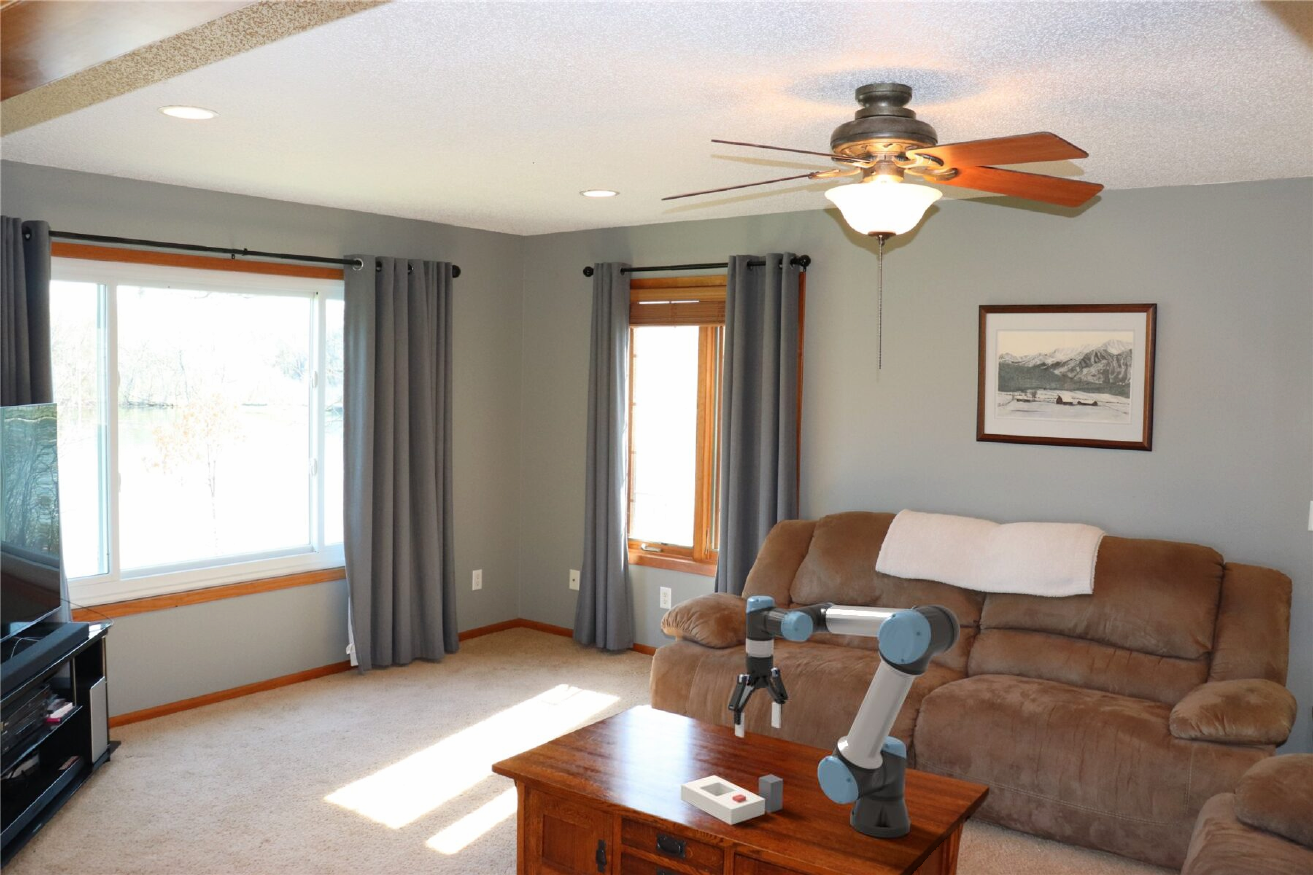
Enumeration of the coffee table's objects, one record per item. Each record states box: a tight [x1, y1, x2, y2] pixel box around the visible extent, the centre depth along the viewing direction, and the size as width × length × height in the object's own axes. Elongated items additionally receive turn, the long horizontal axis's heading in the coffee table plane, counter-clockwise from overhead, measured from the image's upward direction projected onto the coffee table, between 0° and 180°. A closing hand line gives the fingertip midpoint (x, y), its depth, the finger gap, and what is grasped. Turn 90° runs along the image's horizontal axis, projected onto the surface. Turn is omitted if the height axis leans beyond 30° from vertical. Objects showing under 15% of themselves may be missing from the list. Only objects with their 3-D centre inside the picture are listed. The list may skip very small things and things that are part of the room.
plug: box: [757, 773, 784, 814], centre depth 278 cm, size 4×4×8 cm
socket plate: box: [680, 774, 766, 826], centre depth 278 cm, size 20×12×5 cm, turn 38°
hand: (758, 731), depth 283 cm, fingers open, 13 cm apart
